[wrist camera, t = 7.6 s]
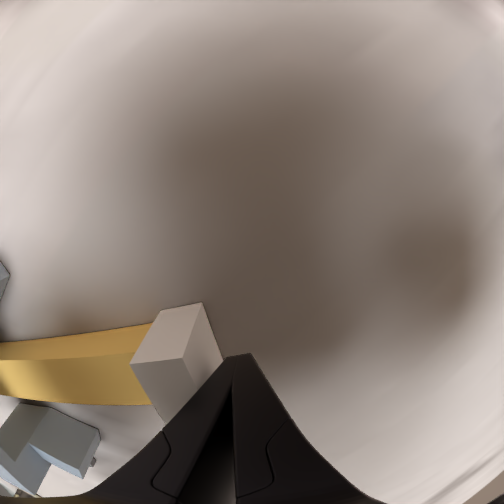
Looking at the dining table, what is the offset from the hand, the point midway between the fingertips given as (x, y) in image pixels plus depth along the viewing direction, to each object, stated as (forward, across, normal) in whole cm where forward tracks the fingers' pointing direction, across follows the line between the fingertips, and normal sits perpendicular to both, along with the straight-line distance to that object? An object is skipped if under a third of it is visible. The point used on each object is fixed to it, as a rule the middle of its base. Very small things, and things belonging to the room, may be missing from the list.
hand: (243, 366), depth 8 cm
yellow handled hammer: (+1, +12, 0) cm, 12 cm away
